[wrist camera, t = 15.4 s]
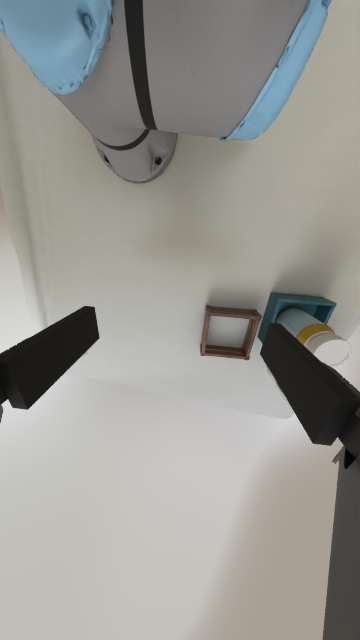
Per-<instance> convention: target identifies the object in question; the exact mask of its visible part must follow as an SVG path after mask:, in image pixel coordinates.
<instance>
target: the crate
mask: <svg viewBox="0 0 360 640" xmlns="http://www.w3.org/2000/svg"><path fill="white" fill-rule="evenodd" d="M205 311H206V314H205V321H204V328H203V335H202V342H201V345H200V354H201V356H205V355H207V356H217V357H227V358H237V359H244V360H249V358H250V356H249V355H250V352H251V348H252V345H253V341H254V338H255V335H256V331H257V328H258V324H259V321H260V320H261V317H262V316H261V315H260V314H259V313H258V312H257V311H256V310H240V309H229V308H217V307H210V306H206V308H205ZM211 315H212V316H223V317H234V318H245V319H250V321H249V325H248V329H247V332H246V336H245V340H244V344H243V348H242V349H241V348H230V347H220V346H210V345H206V341H207V334H208V327H209V321H210V316H211Z"/></svg>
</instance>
